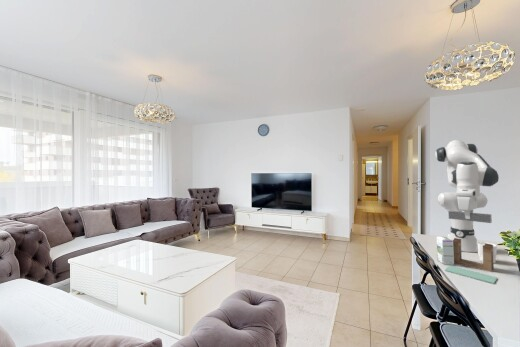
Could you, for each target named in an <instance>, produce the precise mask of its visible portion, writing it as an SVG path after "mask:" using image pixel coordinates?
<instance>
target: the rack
mask: <svg viewBox="0 0 520 347" xmlns="http://www.w3.org/2000/svg"><path fill="white" fill-rule="evenodd" d="M486 243H487V242H486ZM486 243H485V245H483V261H482V263H481V262H477V261H473V260H469V259H464V258H462V251H461V239H457V238H454V240H453V250H454V264H458V265H461V264H462V265H463V266H465V265H466V266H465V267H469V268H474V269H478V270H483V271H486V272H490V273H492V271H493V269H495V267H494V263H493V245H492V244H493V243H491V244H486Z"/></svg>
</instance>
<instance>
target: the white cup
mask: <svg viewBox="0 0 520 347" xmlns="http://www.w3.org/2000/svg"><path fill="white" fill-rule="evenodd" d="M485 243H486V244H492V245H493V264H496V261H497V248H498V246H497V244H495V243H491V242H483V241H479V242H478V241H477V245H478V252H477V254H478V259H479V261H481V262H483V245H485Z"/></svg>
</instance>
